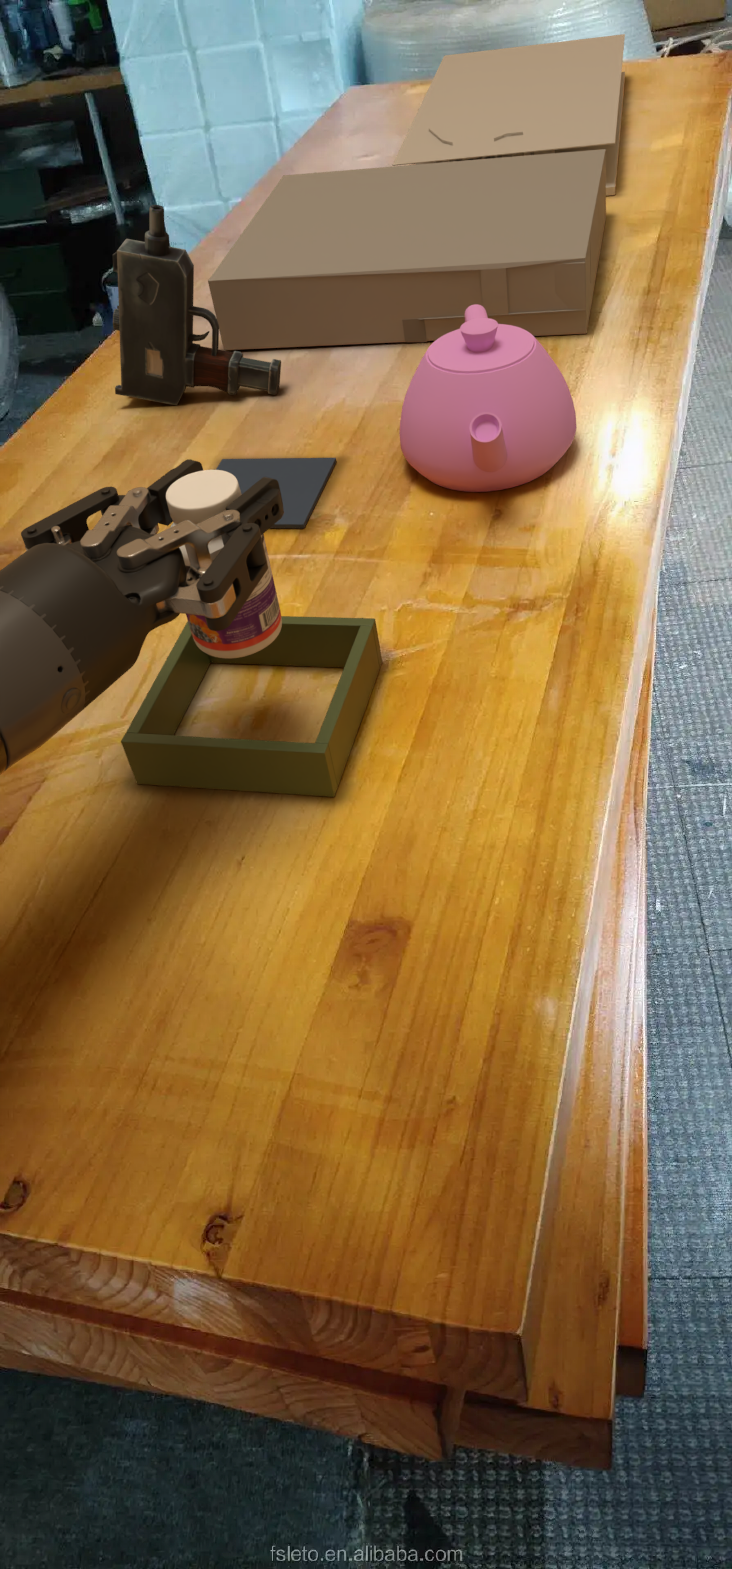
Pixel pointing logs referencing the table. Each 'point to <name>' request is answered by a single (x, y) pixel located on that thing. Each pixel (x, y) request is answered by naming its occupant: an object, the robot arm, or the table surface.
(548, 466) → the teapot
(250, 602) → the pill bottle
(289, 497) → the mat
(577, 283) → the box
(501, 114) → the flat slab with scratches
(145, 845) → the table surface
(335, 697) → the square frame
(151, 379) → the gun
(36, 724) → the robot arm
